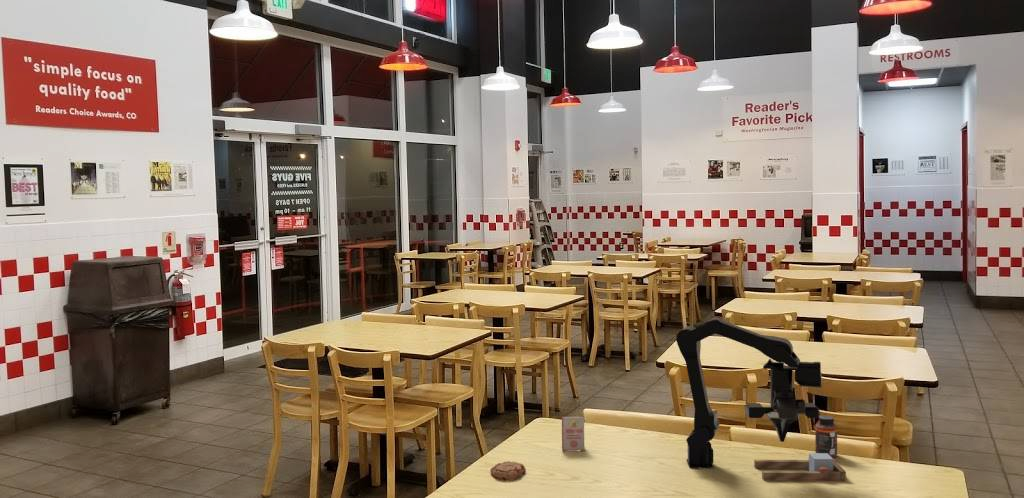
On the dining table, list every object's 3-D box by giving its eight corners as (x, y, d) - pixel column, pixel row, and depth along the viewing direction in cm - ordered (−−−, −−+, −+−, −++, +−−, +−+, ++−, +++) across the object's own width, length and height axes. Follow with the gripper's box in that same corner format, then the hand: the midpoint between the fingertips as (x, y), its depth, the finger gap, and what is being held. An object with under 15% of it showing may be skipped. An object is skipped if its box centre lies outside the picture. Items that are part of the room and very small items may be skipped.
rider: (814, 477, 215) (814, 459, 215) (808, 470, 220) (808, 453, 220) (833, 477, 215) (833, 459, 215) (827, 471, 220) (827, 453, 220)
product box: (562, 447, 246) (561, 415, 246) (584, 447, 246) (583, 415, 245) (562, 450, 242) (561, 418, 242) (584, 451, 242) (583, 418, 241)
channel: (763, 480, 214) (763, 468, 213) (754, 466, 224) (754, 455, 224) (845, 480, 212) (845, 468, 212) (832, 467, 223) (832, 455, 223)
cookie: (494, 483, 216) (494, 472, 216) (488, 470, 227) (487, 460, 227) (530, 479, 218) (529, 469, 218) (522, 467, 229) (522, 457, 229)
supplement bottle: (839, 459, 230) (839, 420, 229) (817, 458, 231) (817, 419, 230) (835, 452, 235) (835, 414, 235) (813, 451, 237) (813, 414, 236)
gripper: (753, 392, 210) (753, 450, 211) (825, 391, 208) (826, 450, 209) (744, 382, 221) (744, 438, 222) (813, 382, 219) (813, 438, 220)
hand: (781, 441), depth 218 cm, fingers closed
